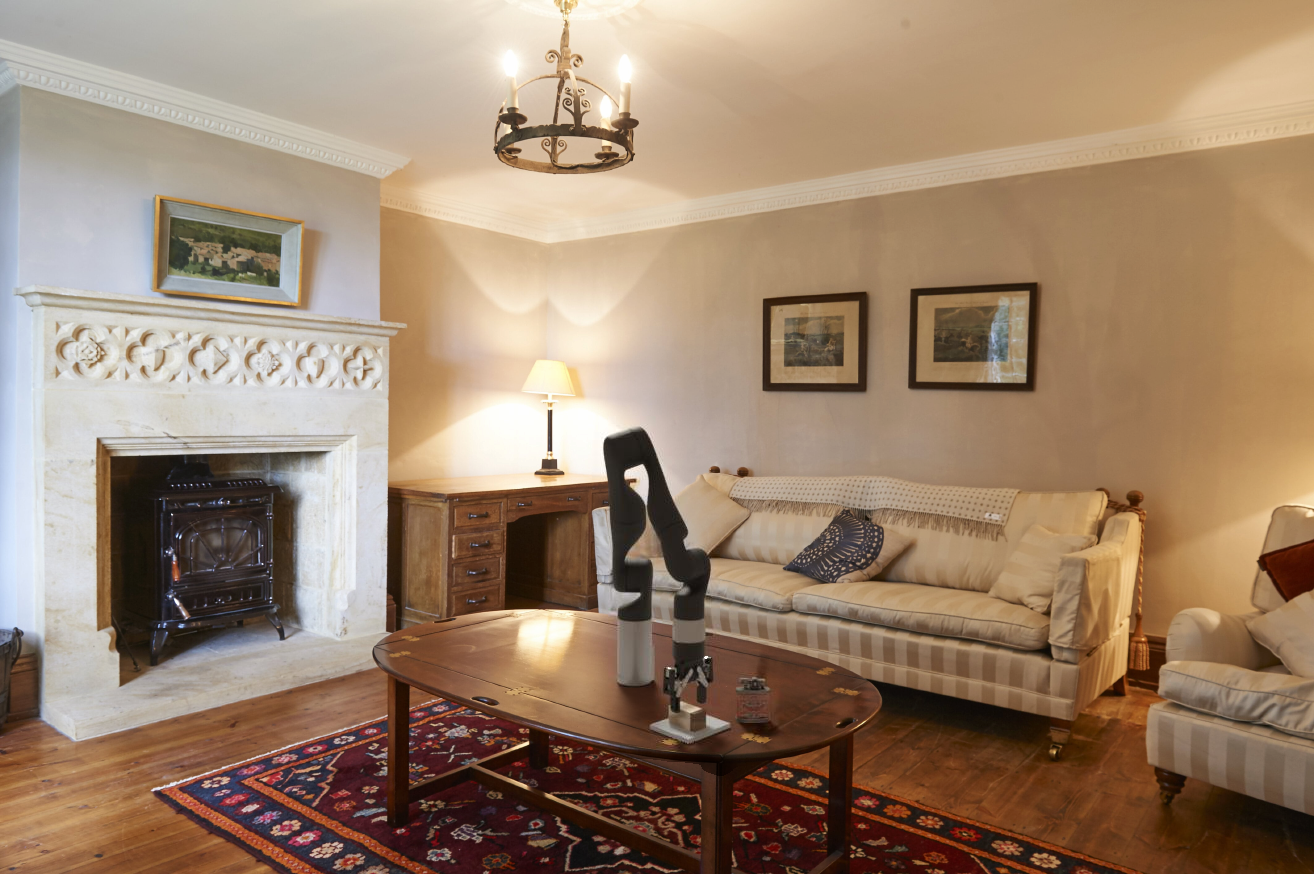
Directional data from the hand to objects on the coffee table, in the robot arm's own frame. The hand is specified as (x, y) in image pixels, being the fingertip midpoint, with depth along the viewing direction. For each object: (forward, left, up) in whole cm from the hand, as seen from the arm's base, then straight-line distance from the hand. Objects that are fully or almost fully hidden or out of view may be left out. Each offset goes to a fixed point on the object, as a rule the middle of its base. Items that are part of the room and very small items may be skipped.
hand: (688, 707), depth 187 cm
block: (0, 0, -4) cm, 4 cm away
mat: (-1, 0, -5) cm, 5 cm away
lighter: (-15, +7, -5) cm, 17 cm away
